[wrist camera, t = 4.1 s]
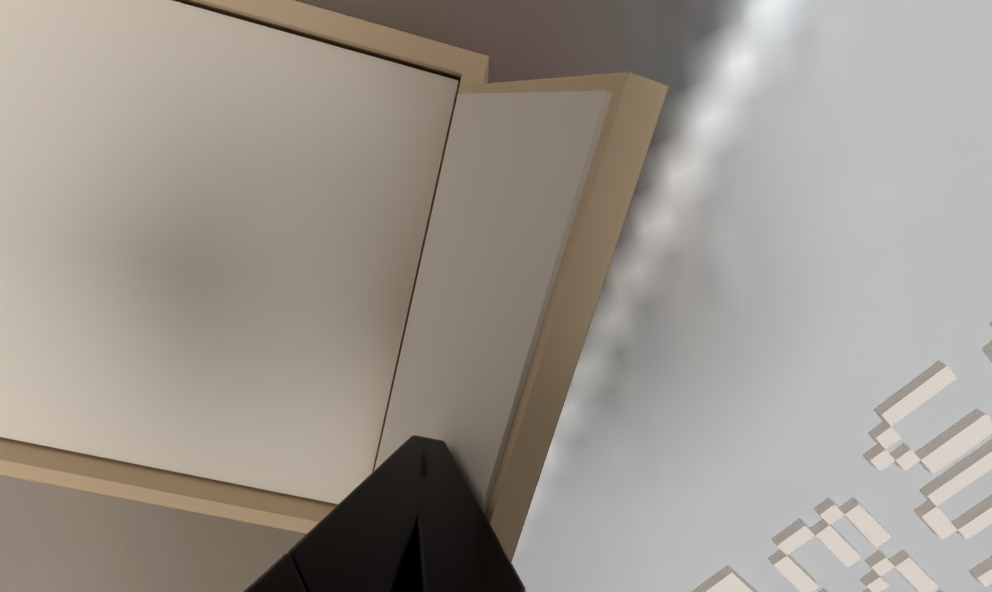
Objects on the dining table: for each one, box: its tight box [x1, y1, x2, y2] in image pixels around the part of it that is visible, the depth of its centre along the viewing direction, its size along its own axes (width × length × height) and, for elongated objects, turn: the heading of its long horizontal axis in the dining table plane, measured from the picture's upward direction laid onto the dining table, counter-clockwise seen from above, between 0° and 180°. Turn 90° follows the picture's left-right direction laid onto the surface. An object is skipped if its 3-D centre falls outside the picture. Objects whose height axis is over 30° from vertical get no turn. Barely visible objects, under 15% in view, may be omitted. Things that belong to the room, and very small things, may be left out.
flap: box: [375, 72, 669, 562], centre depth 10 cm, size 12×7×1 cm
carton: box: [0, 0, 489, 534], centre depth 15 cm, size 14×18×6 cm
